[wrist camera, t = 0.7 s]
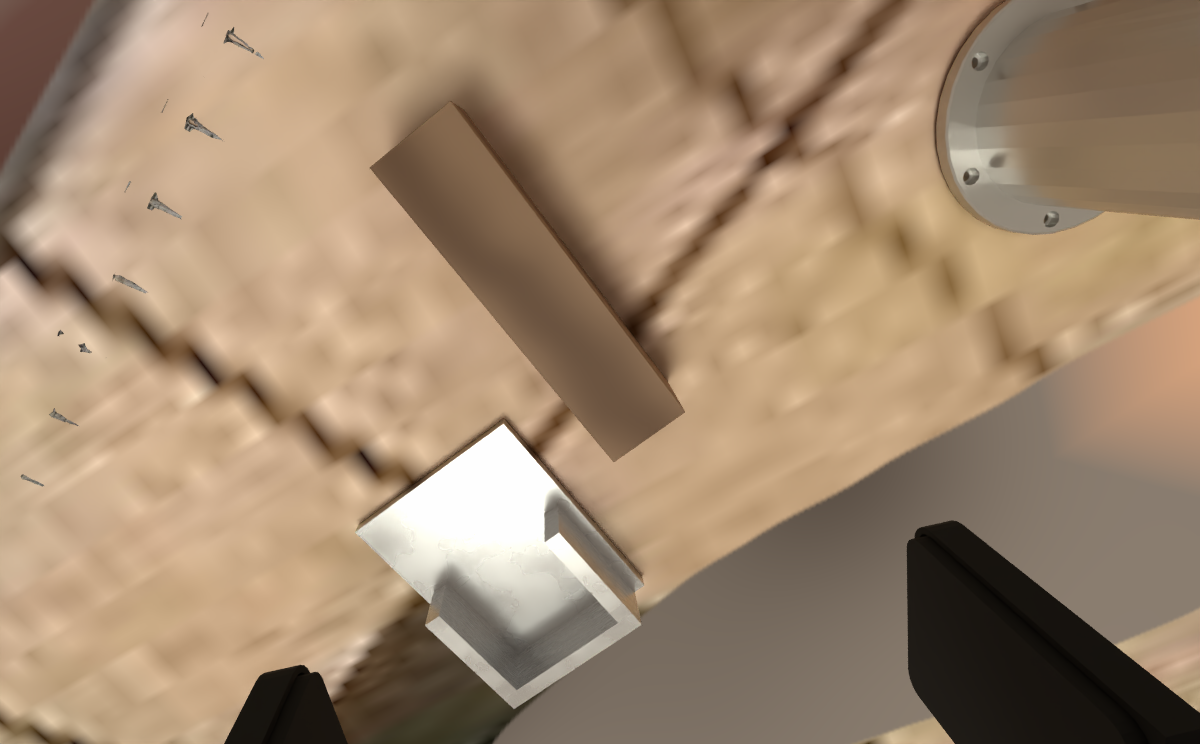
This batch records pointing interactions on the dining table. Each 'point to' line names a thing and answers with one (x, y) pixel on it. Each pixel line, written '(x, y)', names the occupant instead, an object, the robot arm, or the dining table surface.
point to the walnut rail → (527, 279)
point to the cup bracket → (507, 565)
